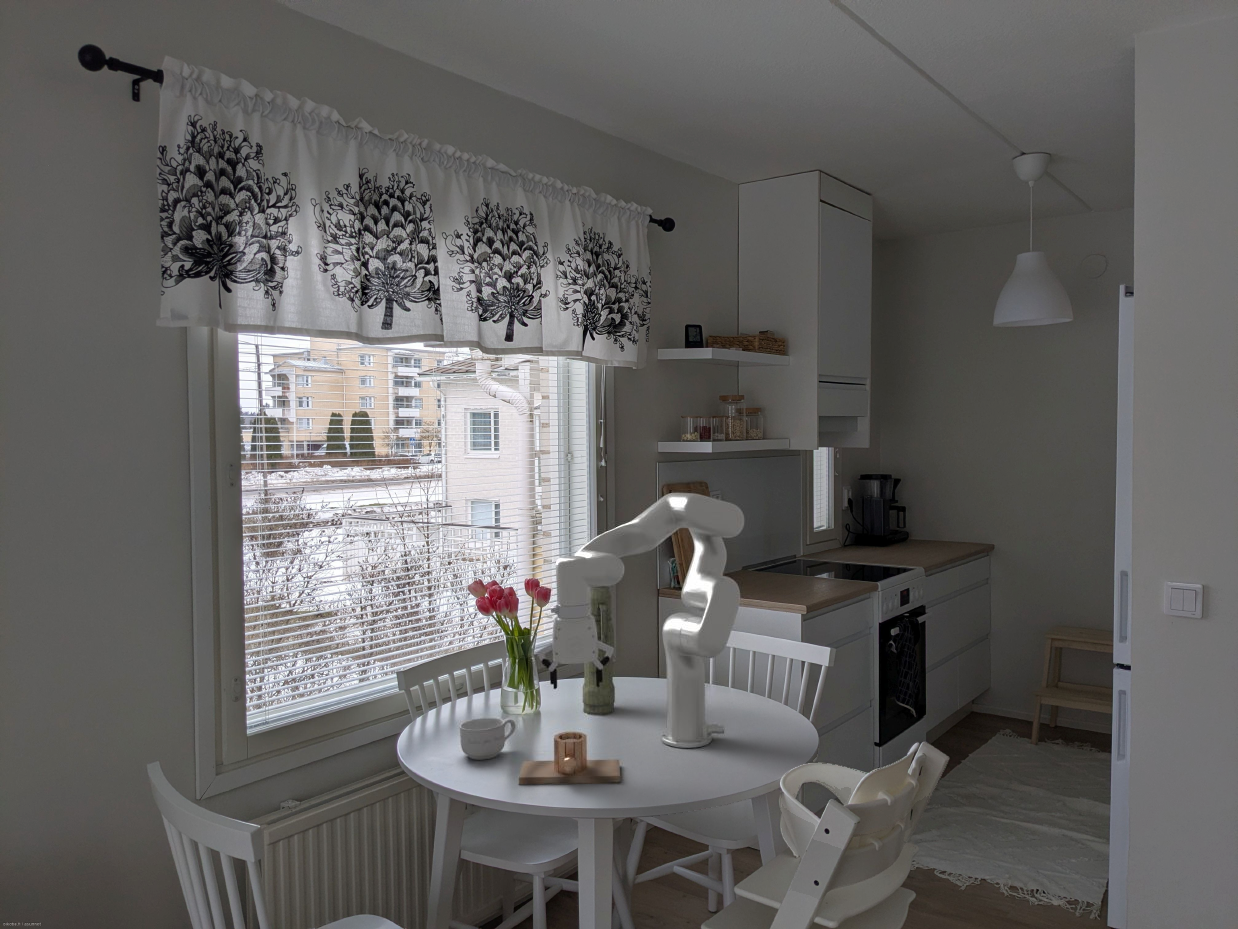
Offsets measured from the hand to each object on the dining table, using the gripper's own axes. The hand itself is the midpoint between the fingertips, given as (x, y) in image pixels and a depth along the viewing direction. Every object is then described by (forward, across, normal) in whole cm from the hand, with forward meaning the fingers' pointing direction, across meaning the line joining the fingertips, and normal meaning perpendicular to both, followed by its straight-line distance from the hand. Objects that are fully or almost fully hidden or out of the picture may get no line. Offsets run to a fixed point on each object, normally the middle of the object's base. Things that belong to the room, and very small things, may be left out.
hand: (576, 686), depth 195 cm
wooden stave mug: (+18, -2, -5) cm, 18 cm away
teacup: (+19, -22, +12) cm, 31 cm away
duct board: (+19, -2, -3) cm, 19 cm away
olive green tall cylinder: (+20, +4, +45) cm, 50 cm away
